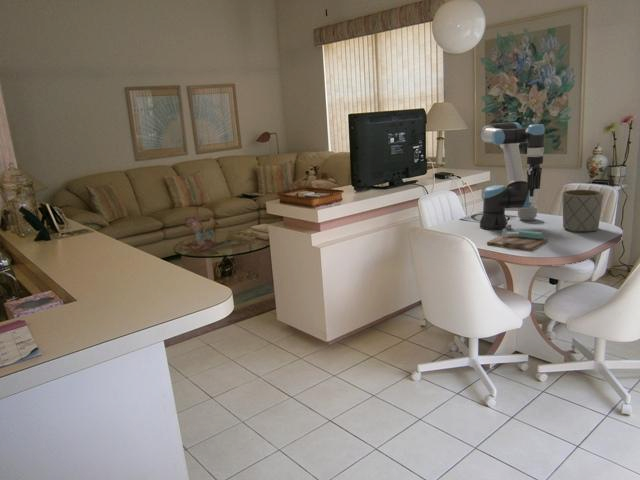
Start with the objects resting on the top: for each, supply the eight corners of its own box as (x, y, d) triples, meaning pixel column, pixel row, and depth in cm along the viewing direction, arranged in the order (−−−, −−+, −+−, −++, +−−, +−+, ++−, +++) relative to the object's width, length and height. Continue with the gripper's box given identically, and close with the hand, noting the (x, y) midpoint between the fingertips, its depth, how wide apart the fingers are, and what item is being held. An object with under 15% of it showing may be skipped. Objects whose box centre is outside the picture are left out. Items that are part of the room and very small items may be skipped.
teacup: (534, 222, 289) (535, 208, 287) (515, 221, 295) (515, 207, 293) (538, 217, 301) (539, 204, 299) (519, 216, 306) (520, 203, 304)
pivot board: (487, 244, 252) (487, 231, 250) (505, 235, 266) (506, 223, 264) (530, 251, 236) (531, 237, 235) (547, 241, 251) (548, 228, 249)
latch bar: (500, 234, 261) (500, 229, 260) (505, 232, 265) (505, 227, 264) (539, 239, 247) (539, 234, 246) (543, 237, 251) (543, 232, 250)
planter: (605, 233, 257) (608, 195, 252) (566, 233, 261) (568, 196, 256) (593, 224, 275) (596, 188, 270) (556, 225, 279) (558, 190, 274)
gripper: (536, 157, 242) (534, 205, 248) (548, 154, 252) (546, 199, 258) (521, 157, 247) (519, 204, 253) (534, 154, 258) (532, 198, 264)
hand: (533, 201), depth 256 cm, fingers open, 3 cm apart
